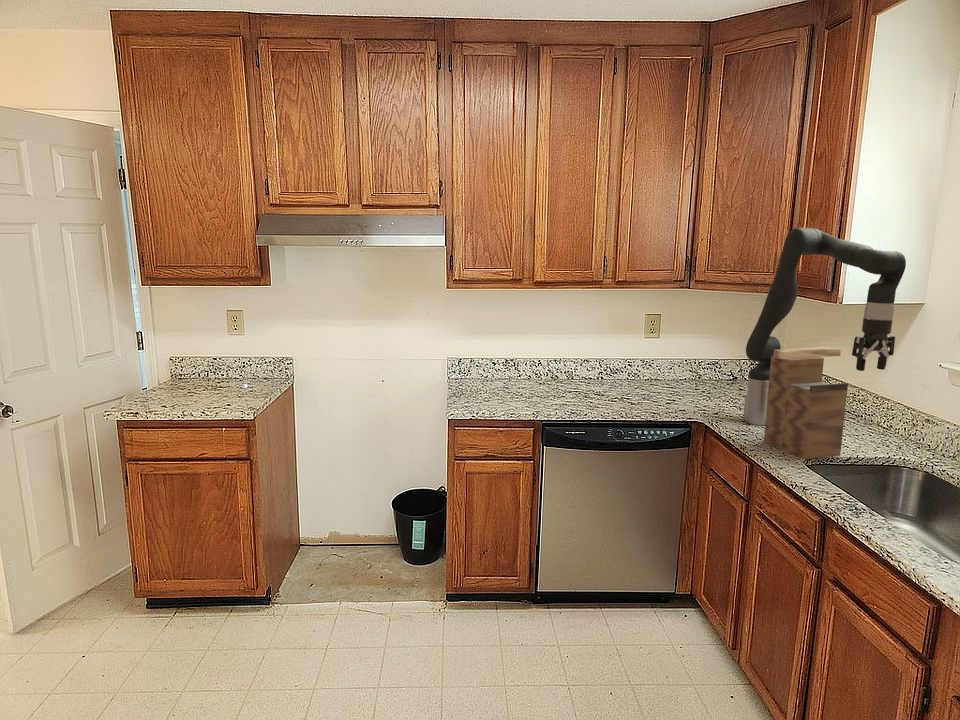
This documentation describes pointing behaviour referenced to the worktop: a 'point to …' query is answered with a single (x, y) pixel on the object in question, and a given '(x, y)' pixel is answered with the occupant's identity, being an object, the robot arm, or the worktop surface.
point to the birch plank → (807, 352)
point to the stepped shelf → (804, 409)
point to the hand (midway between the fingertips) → (870, 369)
